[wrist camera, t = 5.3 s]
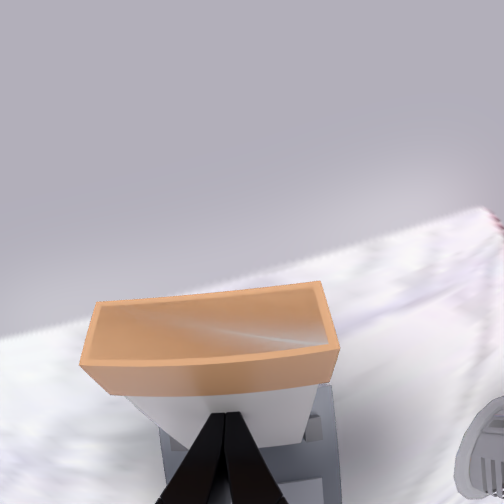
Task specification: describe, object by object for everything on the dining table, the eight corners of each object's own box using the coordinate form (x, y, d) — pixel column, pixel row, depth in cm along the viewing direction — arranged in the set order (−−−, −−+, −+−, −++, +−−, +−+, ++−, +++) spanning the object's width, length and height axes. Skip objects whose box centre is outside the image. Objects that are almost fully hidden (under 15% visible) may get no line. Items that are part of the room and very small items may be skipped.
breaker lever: (303, 449, 12) (340, 348, 5) (191, 457, 12) (78, 364, 5) (299, 416, 14) (320, 280, 7) (191, 425, 13) (96, 301, 7)
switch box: (325, 488, 15) (347, 524, 10) (194, 499, 15) (169, 535, 10) (315, 383, 19) (336, 385, 13) (180, 395, 19) (148, 401, 13)
